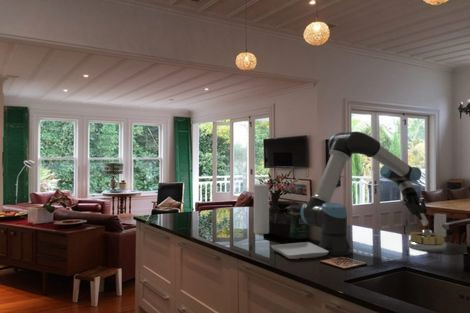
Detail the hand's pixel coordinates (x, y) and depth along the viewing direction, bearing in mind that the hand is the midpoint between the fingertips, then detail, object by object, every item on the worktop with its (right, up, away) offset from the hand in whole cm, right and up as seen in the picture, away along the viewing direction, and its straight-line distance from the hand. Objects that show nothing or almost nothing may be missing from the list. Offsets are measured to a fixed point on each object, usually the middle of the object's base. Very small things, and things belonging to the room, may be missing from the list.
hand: (426, 224), depth 205 cm
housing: (-5, -10, -10) cm, 15 cm away
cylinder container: (-86, -11, +32) cm, 93 cm away
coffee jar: (-66, -11, +16) cm, 68 cm away
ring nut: (-4, -7, -10) cm, 13 cm away
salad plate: (-72, -11, -22) cm, 76 cm away
